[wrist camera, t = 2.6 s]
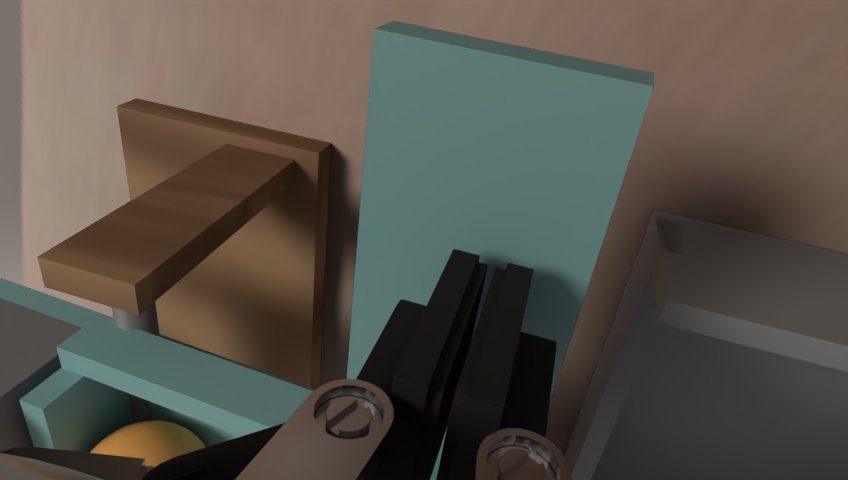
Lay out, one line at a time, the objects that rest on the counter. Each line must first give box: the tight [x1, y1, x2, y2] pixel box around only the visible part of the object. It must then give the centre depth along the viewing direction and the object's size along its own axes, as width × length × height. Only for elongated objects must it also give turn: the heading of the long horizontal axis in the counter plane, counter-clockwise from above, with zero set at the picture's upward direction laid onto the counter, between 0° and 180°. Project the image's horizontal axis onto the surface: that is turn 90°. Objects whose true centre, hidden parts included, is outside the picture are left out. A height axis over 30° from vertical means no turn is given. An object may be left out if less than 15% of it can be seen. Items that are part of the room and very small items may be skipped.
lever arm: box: [0, 21, 654, 480], centre depth 15 cm, size 20×24×6 cm
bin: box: [563, 210, 848, 480], centre depth 22 cm, size 16×14×6 cm
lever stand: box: [38, 99, 331, 389], centre depth 24 cm, size 15×9×10 cm, turn 172°
